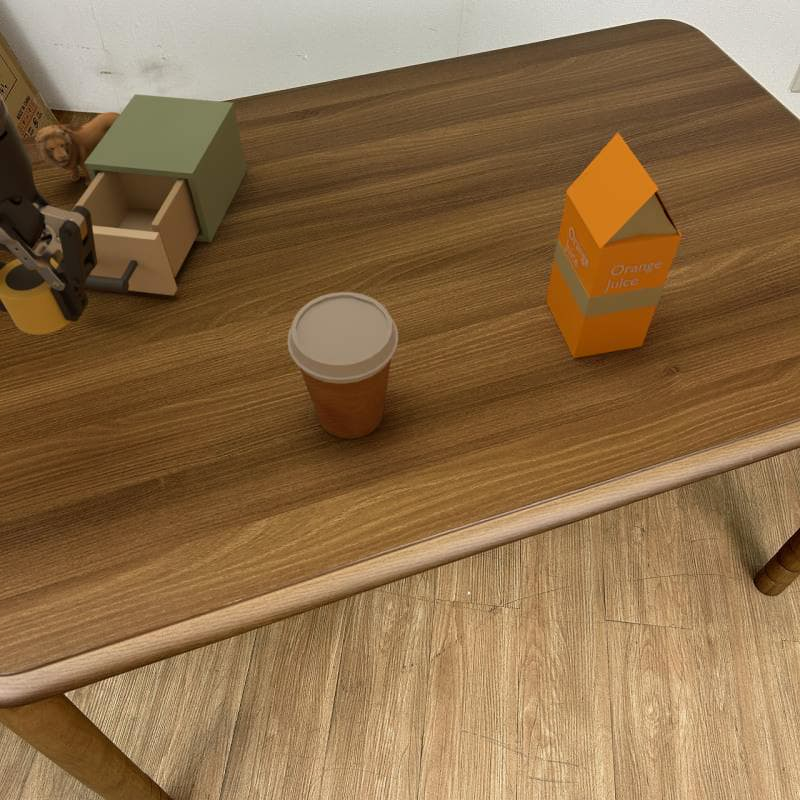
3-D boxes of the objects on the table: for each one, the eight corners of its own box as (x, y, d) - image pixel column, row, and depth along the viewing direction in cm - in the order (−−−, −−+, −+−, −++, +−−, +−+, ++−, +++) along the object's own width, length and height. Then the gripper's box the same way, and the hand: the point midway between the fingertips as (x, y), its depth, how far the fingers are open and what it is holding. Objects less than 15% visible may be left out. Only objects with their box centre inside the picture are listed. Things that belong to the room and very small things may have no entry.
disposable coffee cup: (419, 421, 71) (420, 336, 62) (335, 470, 68) (323, 387, 59) (364, 361, 76) (357, 273, 67) (283, 404, 73) (264, 317, 64)
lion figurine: (76, 206, 93) (49, 142, 86) (46, 193, 95) (17, 129, 87) (157, 148, 100) (138, 85, 93) (129, 137, 102) (108, 74, 95)
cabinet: (211, 242, 88) (192, 173, 81) (111, 232, 90) (83, 163, 82) (247, 171, 97) (233, 102, 90) (155, 162, 99) (134, 94, 91)
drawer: (159, 323, 79) (138, 268, 73) (59, 311, 80) (30, 255, 74) (213, 218, 90) (199, 162, 83) (124, 209, 91) (103, 153, 85)
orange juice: (610, 289, 83) (657, 125, 67) (643, 346, 77) (702, 183, 62) (543, 300, 82) (575, 137, 66) (572, 359, 76) (614, 196, 61)
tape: (3, 330, 60) (-20, 294, 56) (32, 288, 63) (13, 250, 59) (61, 338, 59) (42, 302, 56) (88, 295, 62) (71, 258, 59)
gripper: (-197, 141, 46) (-61, 331, 59) (20, 165, 44) (109, 355, 58) (-123, 78, 50) (-13, 268, 64) (76, 98, 49) (146, 288, 62)
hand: (45, 308), depth 60 cm, fingers closed on tape, 5 cm apart
